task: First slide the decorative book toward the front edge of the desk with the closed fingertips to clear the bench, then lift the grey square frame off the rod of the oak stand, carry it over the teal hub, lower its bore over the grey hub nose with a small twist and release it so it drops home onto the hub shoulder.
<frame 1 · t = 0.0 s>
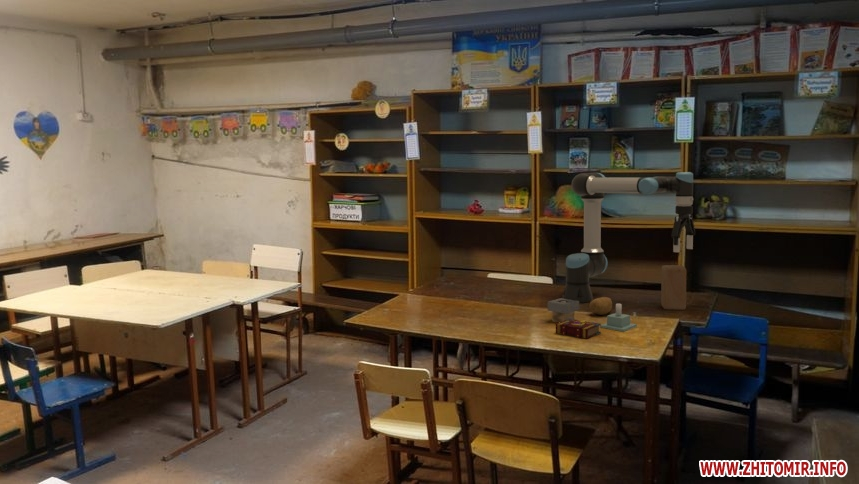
hand: (683, 250, 310), 28 cm above the table, fingers open, 13 cm apart
decorative book: (576, 334, 275), on the table
potato: (601, 314, 307), on the table
wooden block: (673, 308, 316), on the table
grey square frame: (563, 310, 295), point 5 cm above the table, touching stand
stand: (563, 321, 296), on the table
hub: (618, 327, 283), on the table
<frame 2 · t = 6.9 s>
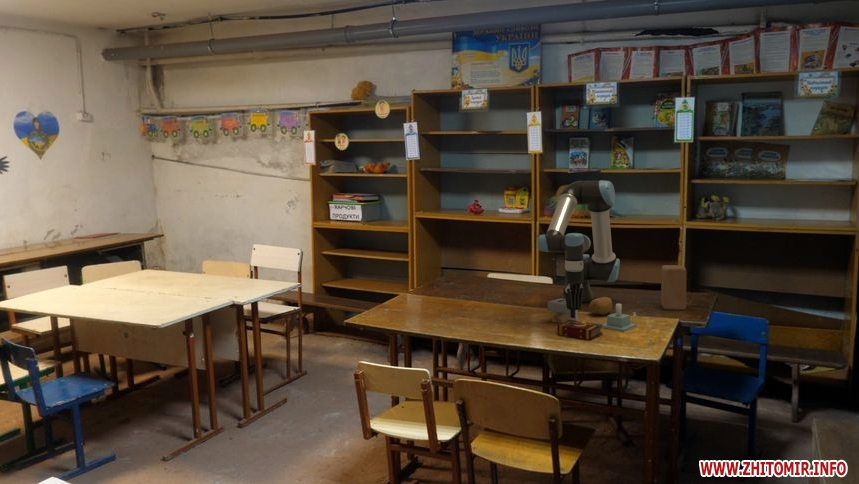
hand: (574, 324, 280), 2 cm above the table, fingers closed
decorative book: (578, 335, 272), on the table, touching gripper
everything else where it was.
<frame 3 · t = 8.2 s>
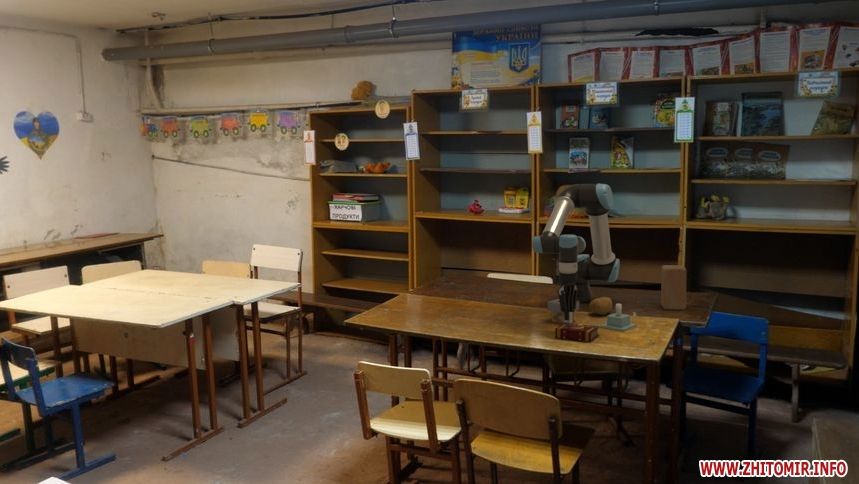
hand: (568, 327, 277), 2 cm above the table, fingers closed
decorative book: (575, 338, 269), on the table, touching gripper
everything else where it was.
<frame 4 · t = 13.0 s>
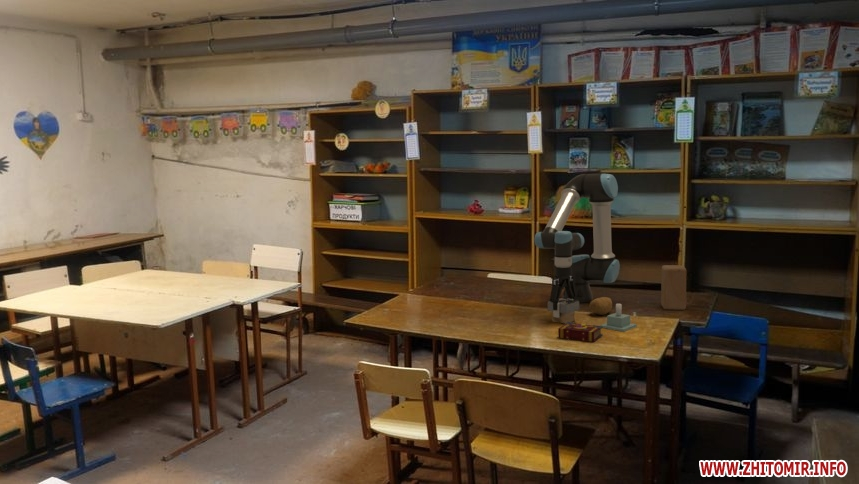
hand: (563, 315, 295), 3 cm above the table, fingers closed on grey square frame, 10 cm apart
decorative book: (578, 338, 269), on the table
grey square frame: (563, 310, 295), point 5 cm above the table, touching gripper, stand
everything else where it was.
when the fingers open (4 cm above the table, at t = 19.2 s): grey square frame stays where it is, resting on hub.
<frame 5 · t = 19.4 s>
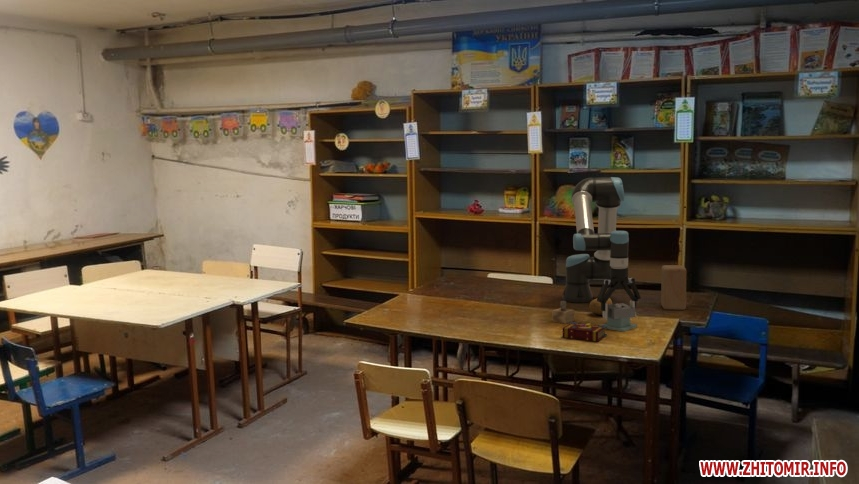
hand: (618, 316, 282), 4 cm above the table, fingers open, 12 cm apart
decorative book: (583, 337, 269), on the table
grey square frame: (618, 315, 282), point 5 cm above the table, touching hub
everything else where it was.
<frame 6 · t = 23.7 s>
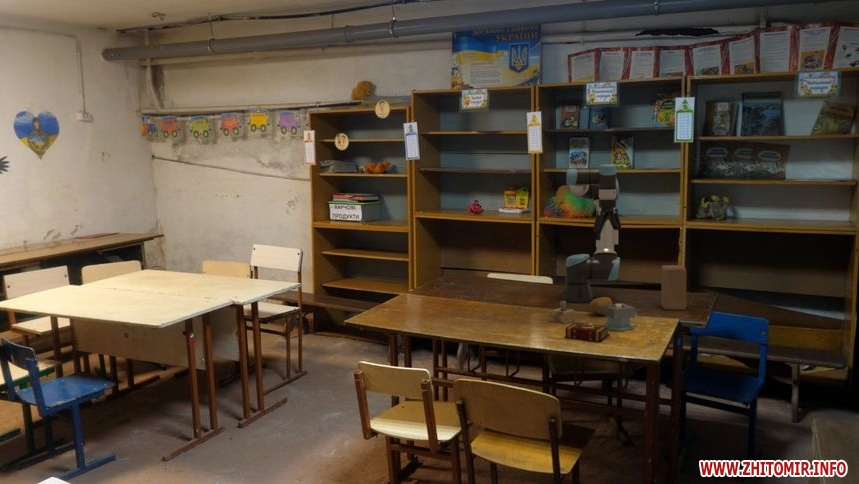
hand: (607, 245, 299), 33 cm above the table, fingers open, 13 cm apart
decorative book: (586, 337, 269), on the table
everything else where it was.
at the end: grey square frame 0.0 cm off-centre on the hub, point 5.0 cm above the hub's base; the gripper is holding nothing; decorative book moved 6.1 cm from its start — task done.
